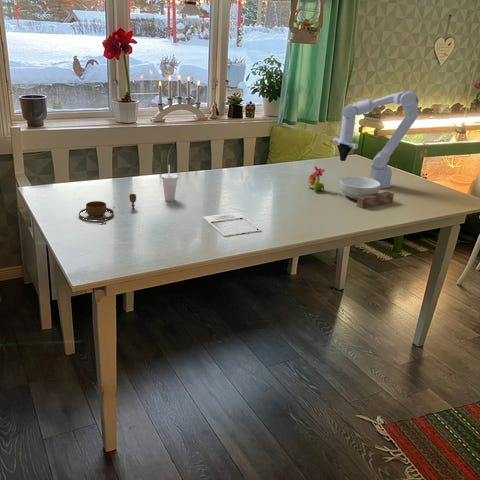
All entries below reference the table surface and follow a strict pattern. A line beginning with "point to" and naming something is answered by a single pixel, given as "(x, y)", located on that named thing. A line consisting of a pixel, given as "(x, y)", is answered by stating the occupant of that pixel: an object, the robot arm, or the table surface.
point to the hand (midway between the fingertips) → (342, 160)
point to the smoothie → (169, 185)
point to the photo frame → (228, 217)
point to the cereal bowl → (359, 186)
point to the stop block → (375, 199)
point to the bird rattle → (316, 179)
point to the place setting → (102, 208)
